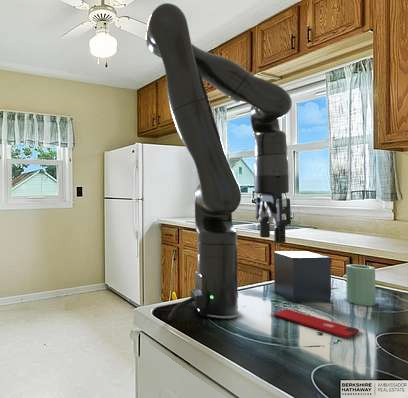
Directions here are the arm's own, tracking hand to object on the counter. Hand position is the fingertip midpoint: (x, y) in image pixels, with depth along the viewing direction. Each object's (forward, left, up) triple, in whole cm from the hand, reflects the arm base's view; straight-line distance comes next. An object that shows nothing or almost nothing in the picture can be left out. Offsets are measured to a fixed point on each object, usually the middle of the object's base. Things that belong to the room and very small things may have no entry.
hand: (272, 239), depth 79 cm
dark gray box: (+14, +12, -18) cm, 26 cm away
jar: (+27, +7, -18) cm, 33 cm away
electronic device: (+5, -8, -18) cm, 20 cm away
